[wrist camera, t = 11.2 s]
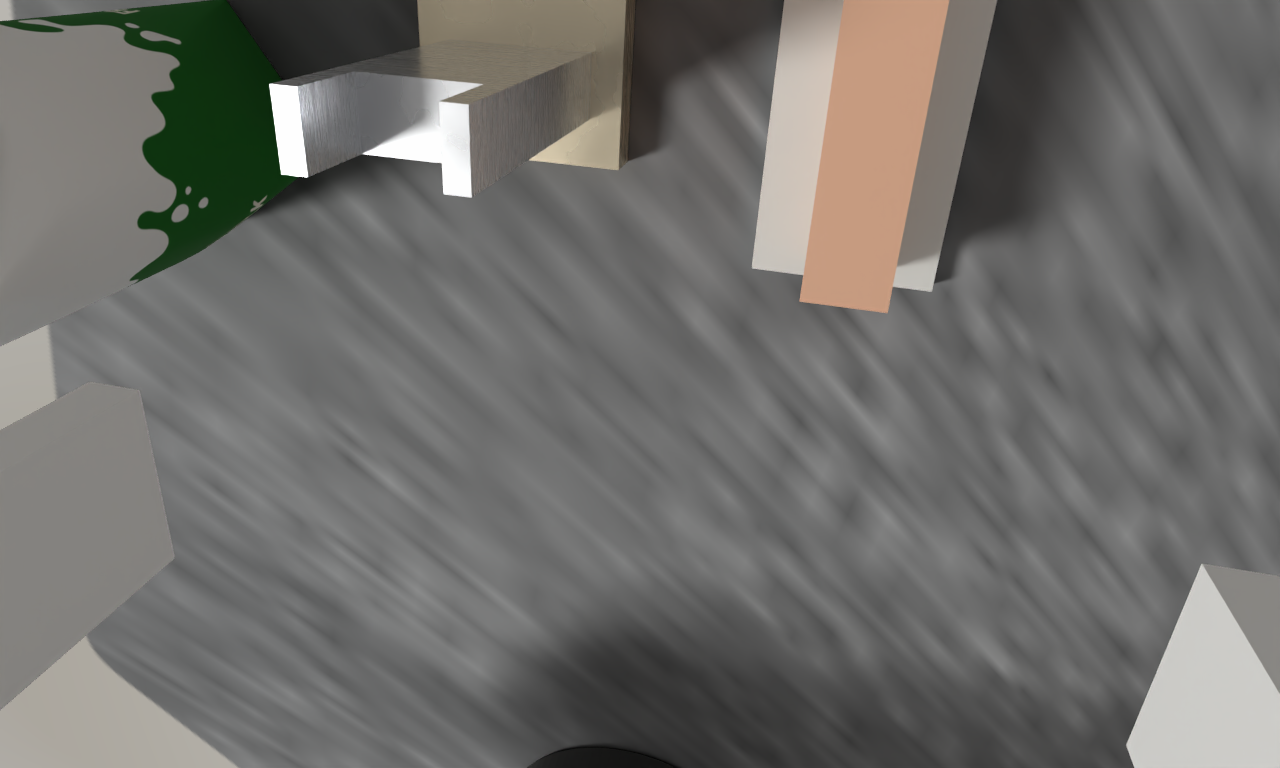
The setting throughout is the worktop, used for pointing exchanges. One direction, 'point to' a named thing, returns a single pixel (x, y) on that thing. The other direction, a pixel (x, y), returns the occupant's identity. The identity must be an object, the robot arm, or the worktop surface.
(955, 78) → the mat
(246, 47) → the milk carton
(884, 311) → the rail
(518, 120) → the hook stand
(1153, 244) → the worktop surface
